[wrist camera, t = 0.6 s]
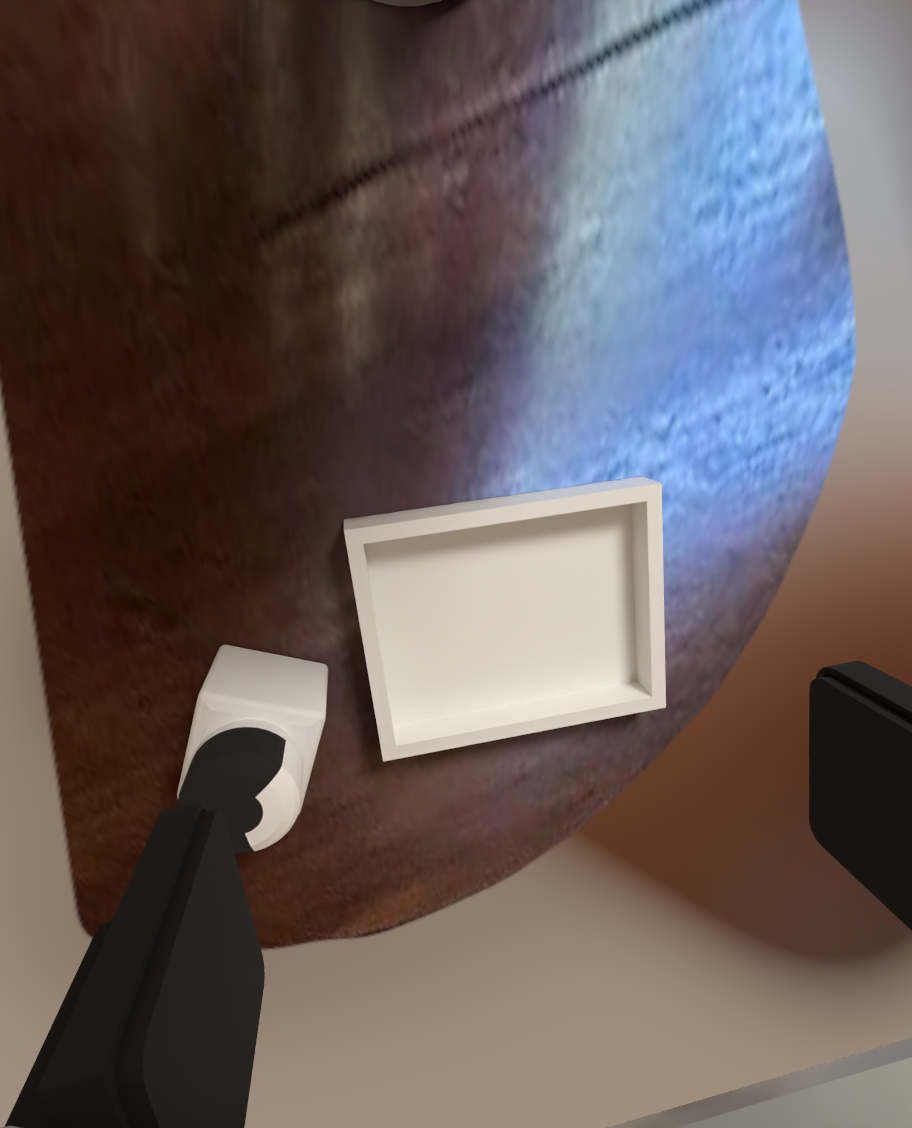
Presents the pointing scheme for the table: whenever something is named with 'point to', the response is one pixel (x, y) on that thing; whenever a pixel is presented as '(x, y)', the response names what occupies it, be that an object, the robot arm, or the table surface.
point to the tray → (511, 613)
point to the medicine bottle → (255, 742)
